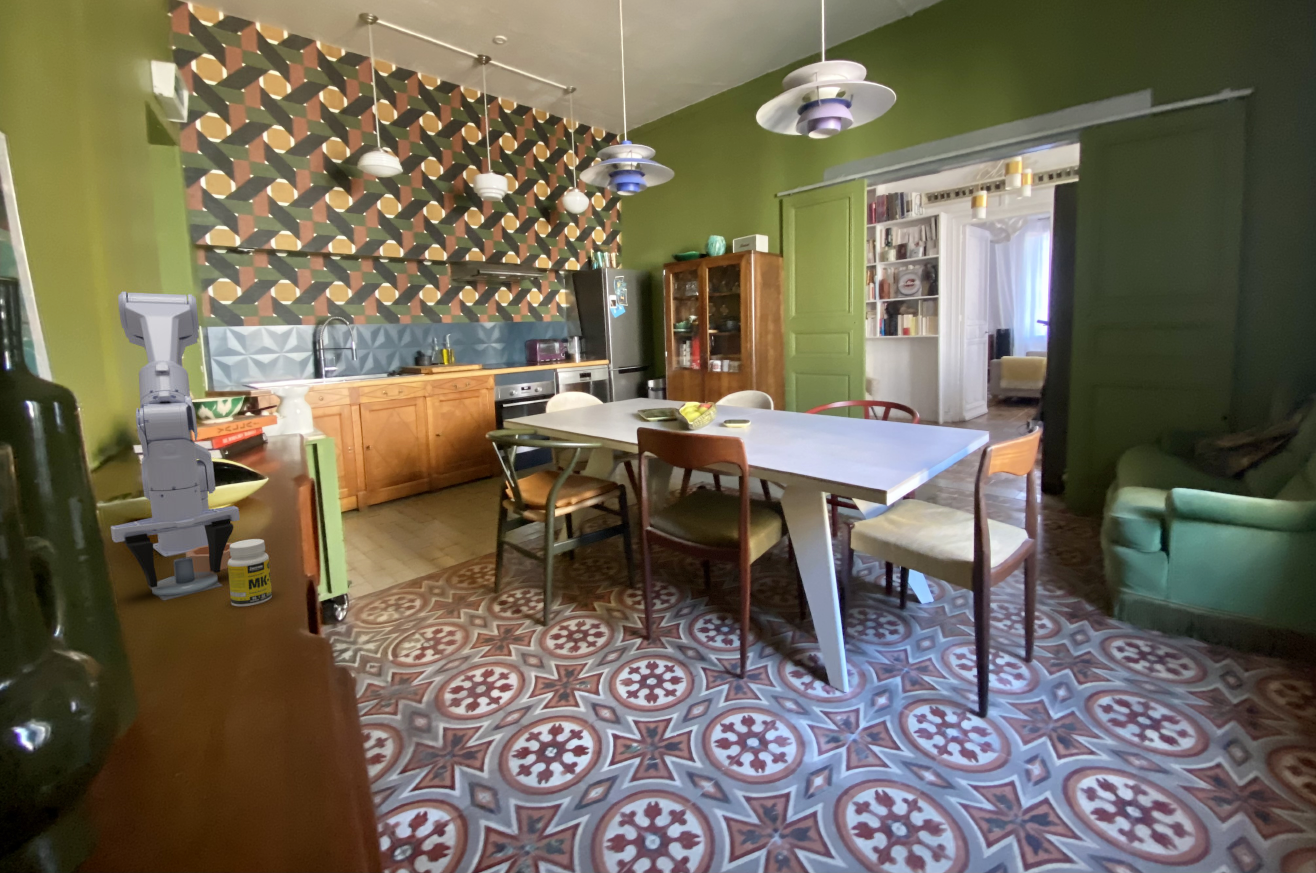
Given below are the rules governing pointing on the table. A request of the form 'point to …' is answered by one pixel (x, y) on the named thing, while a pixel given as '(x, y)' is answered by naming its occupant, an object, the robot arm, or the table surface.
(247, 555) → the supplement bottle
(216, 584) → the mat
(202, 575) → the lid
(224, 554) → the bowl
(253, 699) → the table surface
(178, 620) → the table surface
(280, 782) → the table surface
